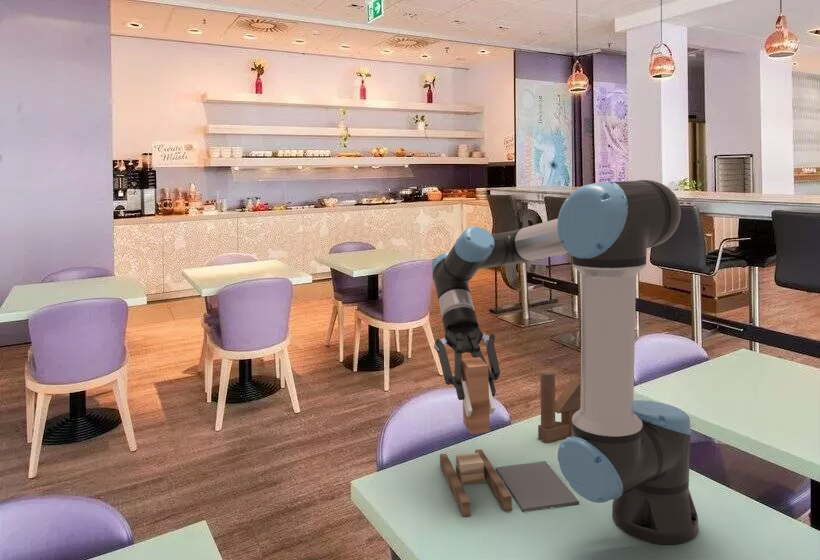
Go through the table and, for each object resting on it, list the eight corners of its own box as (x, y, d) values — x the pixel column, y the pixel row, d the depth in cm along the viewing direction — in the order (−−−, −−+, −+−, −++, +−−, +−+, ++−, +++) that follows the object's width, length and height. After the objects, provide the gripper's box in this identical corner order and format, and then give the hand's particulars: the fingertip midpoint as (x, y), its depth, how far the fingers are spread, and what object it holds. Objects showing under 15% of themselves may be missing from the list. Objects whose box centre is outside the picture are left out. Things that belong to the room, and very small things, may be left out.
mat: (579, 504, 120) (579, 501, 120) (522, 511, 118) (522, 508, 118) (545, 463, 137) (545, 461, 137) (495, 469, 135) (495, 467, 135)
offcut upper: (484, 473, 130) (483, 462, 129) (460, 475, 129) (460, 464, 129) (478, 462, 135) (478, 452, 134) (456, 465, 134) (455, 454, 134)
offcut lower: (484, 482, 130) (484, 472, 130) (461, 485, 130) (461, 475, 129) (478, 472, 135) (477, 462, 135) (456, 475, 135) (455, 464, 134)
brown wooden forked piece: (580, 435, 152) (580, 368, 149) (546, 443, 148) (545, 375, 145) (571, 429, 155) (571, 364, 152) (537, 438, 151) (536, 371, 148)
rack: (512, 510, 119) (511, 496, 118) (462, 516, 117) (462, 502, 117) (481, 460, 140) (481, 449, 140) (440, 465, 139) (439, 453, 138)
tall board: (489, 431, 120) (488, 365, 117) (470, 433, 119) (468, 367, 117) (481, 420, 125) (479, 357, 123) (463, 422, 125) (461, 358, 123)
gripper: (492, 320, 136) (517, 415, 122) (419, 326, 133) (436, 424, 119) (498, 302, 129) (526, 400, 116) (422, 308, 127) (441, 409, 113)
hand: (480, 412), depth 118 cm, fingers closed on tall board, 4 cm apart
